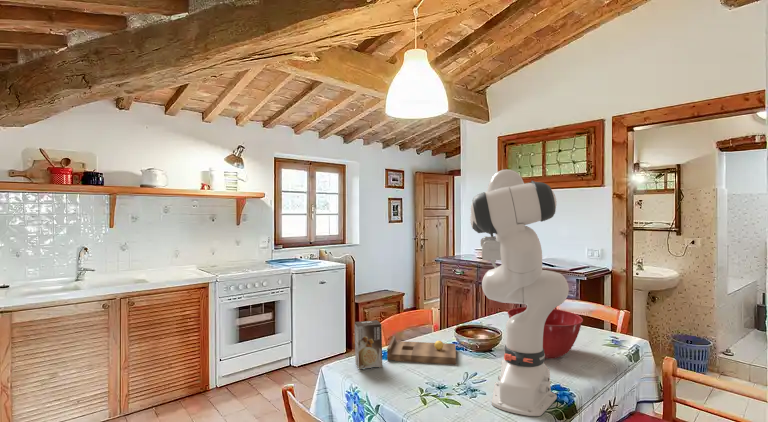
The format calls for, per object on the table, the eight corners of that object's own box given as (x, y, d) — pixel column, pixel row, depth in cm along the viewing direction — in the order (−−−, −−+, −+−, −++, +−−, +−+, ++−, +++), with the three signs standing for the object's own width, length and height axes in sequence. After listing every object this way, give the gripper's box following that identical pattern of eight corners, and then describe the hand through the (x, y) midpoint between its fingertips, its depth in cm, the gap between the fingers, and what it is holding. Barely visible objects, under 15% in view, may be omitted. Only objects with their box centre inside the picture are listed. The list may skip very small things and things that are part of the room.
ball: (441, 351, 159) (441, 342, 159) (433, 350, 160) (433, 341, 160) (444, 349, 162) (444, 340, 162) (436, 347, 164) (436, 338, 164)
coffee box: (378, 361, 156) (378, 319, 156) (382, 367, 149) (382, 324, 149) (354, 364, 153) (354, 321, 153) (358, 370, 147) (358, 326, 147)
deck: (455, 349, 168) (455, 339, 168) (455, 364, 152) (455, 352, 152) (393, 346, 172) (393, 336, 172) (387, 360, 157) (387, 348, 157)
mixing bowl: (568, 342, 177) (568, 306, 177) (595, 367, 148) (595, 325, 148) (501, 340, 180) (501, 305, 180) (516, 365, 151) (516, 323, 151)
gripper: (478, 237, 158) (480, 272, 159) (534, 237, 150) (536, 273, 151) (481, 235, 164) (483, 268, 165) (535, 234, 155) (537, 269, 157)
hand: (509, 271), depth 158 cm, fingers open, 8 cm apart
